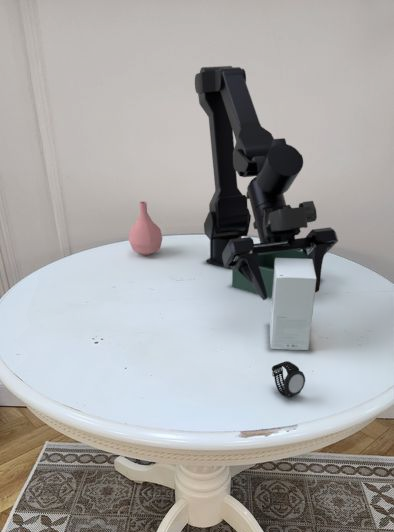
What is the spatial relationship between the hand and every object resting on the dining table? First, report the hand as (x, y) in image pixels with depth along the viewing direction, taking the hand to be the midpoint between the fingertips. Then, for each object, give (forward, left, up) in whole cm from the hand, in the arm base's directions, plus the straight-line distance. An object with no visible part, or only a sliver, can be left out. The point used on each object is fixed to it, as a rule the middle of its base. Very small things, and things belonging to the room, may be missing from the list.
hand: (291, 295), depth 87 cm
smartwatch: (+7, -14, -8) cm, 18 cm away
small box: (0, 0, -8) cm, 8 cm away
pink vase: (-45, +16, -8) cm, 48 cm away
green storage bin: (-12, +18, -8) cm, 23 cm away
